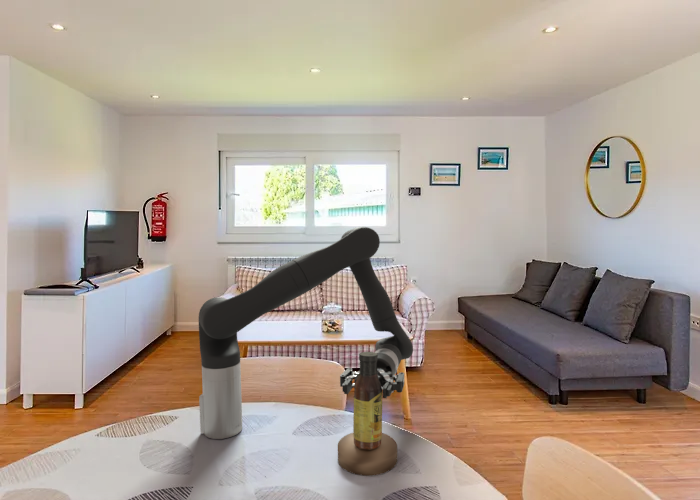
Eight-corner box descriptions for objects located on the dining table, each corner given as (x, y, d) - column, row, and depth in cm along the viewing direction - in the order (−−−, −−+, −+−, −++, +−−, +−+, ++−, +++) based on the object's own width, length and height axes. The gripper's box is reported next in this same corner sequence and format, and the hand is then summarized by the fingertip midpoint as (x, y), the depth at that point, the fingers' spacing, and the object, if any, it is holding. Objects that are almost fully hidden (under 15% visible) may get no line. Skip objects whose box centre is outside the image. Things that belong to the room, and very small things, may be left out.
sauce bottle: (379, 453, 90) (380, 359, 89) (350, 450, 91) (351, 357, 91) (383, 438, 97) (384, 351, 96) (356, 436, 98) (356, 349, 97)
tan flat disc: (329, 470, 90) (329, 456, 89) (347, 440, 102) (347, 427, 102) (391, 480, 86) (390, 465, 86) (402, 447, 98) (402, 434, 98)
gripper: (353, 350, 109) (332, 371, 93) (409, 354, 105) (397, 377, 89) (354, 379, 109) (333, 405, 94) (410, 384, 105) (398, 412, 90)
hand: (364, 391), depth 91 cm, fingers open, 8 cm apart
